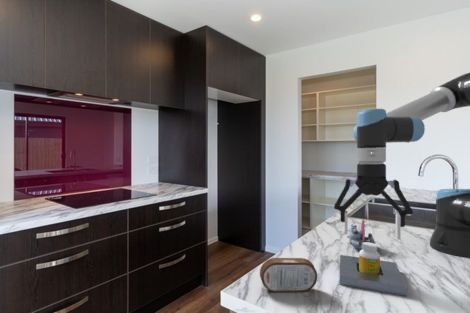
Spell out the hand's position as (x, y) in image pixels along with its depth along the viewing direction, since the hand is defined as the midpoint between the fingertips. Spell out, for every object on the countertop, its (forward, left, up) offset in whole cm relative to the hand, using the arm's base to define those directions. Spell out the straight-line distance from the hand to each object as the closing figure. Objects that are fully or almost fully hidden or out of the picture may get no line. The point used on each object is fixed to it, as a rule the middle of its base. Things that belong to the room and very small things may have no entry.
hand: (371, 235), depth 79 cm
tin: (+21, +17, -13) cm, 30 cm away
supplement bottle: (0, 0, -13) cm, 13 cm away
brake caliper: (+1, -25, -13) cm, 28 cm away
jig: (0, 0, -12) cm, 12 cm away
